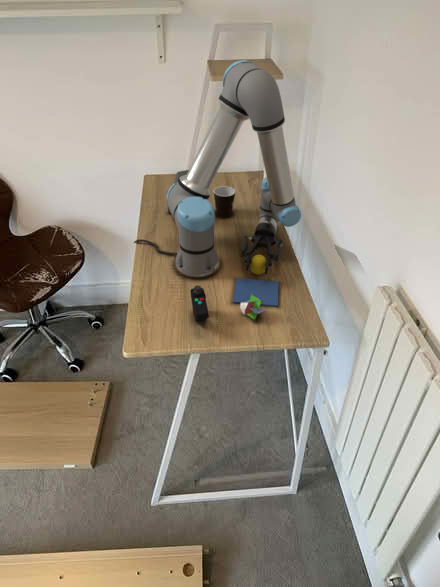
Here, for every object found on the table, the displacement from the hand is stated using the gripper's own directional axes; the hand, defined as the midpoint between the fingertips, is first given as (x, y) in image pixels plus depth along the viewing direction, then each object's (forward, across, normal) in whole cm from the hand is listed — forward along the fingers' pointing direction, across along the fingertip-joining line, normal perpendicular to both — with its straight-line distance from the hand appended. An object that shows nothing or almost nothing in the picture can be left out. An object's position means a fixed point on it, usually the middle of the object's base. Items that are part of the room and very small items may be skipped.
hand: (256, 269), depth 139 cm
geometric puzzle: (+15, -1, -6) cm, 16 cm away
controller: (+21, +14, -6) cm, 26 cm away
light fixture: (-34, +33, -6) cm, 48 cm away
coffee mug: (-44, +18, -6) cm, 48 cm away
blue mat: (+4, -1, -6) cm, 8 cm away
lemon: (-5, 0, -6) cm, 8 cm away
